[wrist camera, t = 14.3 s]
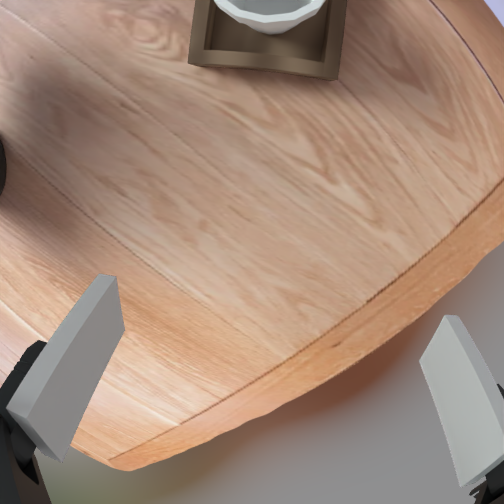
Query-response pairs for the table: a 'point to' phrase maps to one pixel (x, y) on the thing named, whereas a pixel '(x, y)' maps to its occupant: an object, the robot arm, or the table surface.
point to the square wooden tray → (269, 42)
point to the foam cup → (270, 13)
